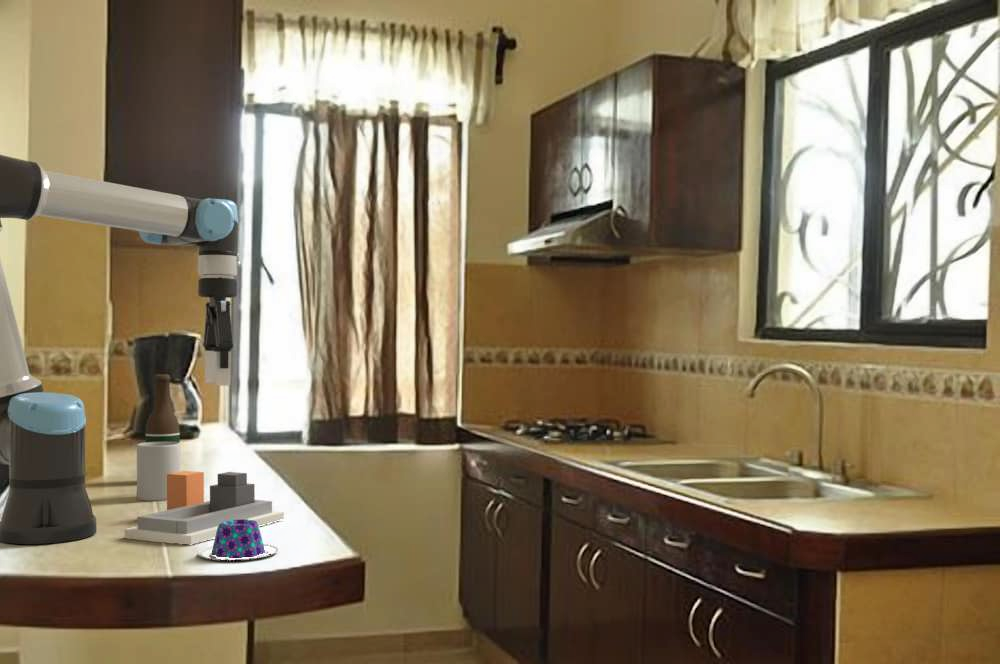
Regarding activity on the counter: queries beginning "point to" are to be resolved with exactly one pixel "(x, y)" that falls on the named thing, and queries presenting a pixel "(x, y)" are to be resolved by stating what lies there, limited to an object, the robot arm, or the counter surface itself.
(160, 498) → the mug
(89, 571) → the counter surface
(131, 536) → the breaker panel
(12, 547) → the counter surface
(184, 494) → the block
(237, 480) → the handle
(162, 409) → the beer bottle
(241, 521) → the pudding
